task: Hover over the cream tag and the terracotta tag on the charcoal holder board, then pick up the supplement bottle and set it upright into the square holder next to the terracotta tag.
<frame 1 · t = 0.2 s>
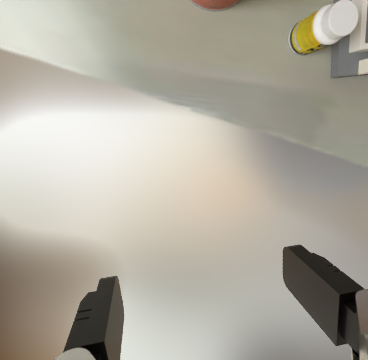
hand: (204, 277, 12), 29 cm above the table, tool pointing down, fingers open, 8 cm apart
supplement bottle: (301, 39, 39), on the table
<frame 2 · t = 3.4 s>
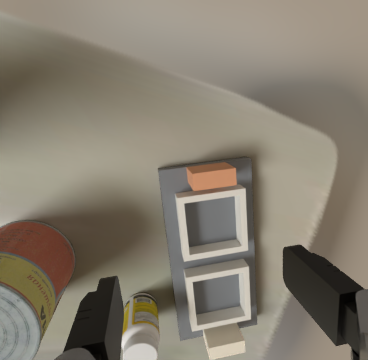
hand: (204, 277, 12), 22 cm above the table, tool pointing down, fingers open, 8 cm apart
supplement bottle: (141, 305, 37), on the table
holder board: (210, 250, 37), on the table
canned food: (30, 259, 33), on the table
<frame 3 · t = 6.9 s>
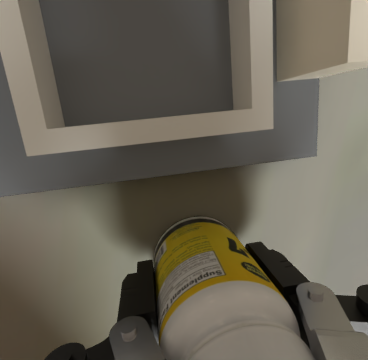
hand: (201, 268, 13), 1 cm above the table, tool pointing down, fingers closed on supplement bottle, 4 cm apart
supplement bottle: (195, 252, 14), on the table, touching gripper
holder board: (7, 44, 11), on the table
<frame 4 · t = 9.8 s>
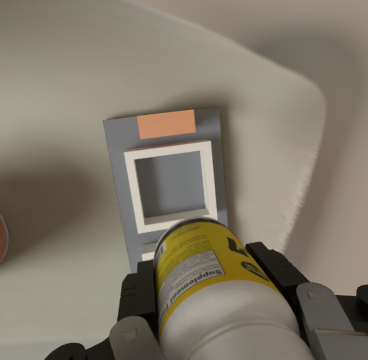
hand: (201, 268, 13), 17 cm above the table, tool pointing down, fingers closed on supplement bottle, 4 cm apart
supplement bottle: (195, 251, 14), point 16 cm above the table, touching gripper
holder board: (175, 224, 31), on the table
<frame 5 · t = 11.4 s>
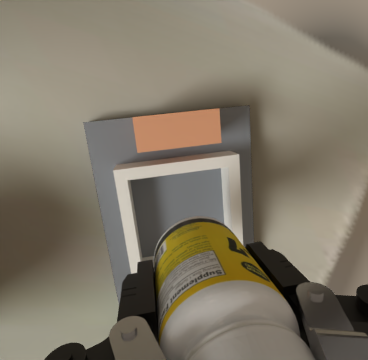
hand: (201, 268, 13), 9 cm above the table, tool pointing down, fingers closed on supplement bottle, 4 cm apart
supplement bottle: (195, 252, 14), point 8 cm above the table, touching gripper
holder board: (184, 261, 23), on the table
when the fingers open (4 cm above the table, at t = 12.8 s): supplement bottle drops 1 cm, resting on holder board.
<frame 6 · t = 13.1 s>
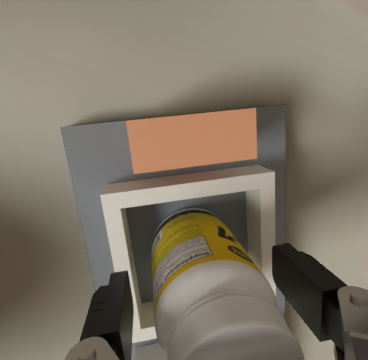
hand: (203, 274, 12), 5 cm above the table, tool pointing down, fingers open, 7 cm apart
supplement bottle: (190, 241, 15), point 1 cm above the table, touching holder board
holder board: (194, 303, 18), on the table
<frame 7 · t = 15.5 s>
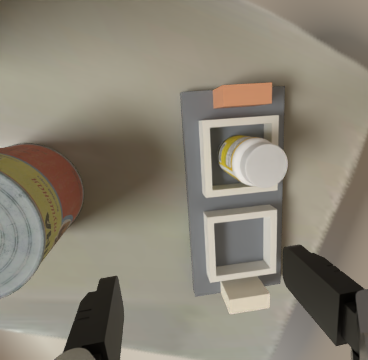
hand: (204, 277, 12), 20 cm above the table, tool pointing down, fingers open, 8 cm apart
supplement bottle: (234, 154, 31), point 1 cm above the table, touching holder board
holder board: (232, 195, 33), on the table
canned food: (34, 191, 30), on the table
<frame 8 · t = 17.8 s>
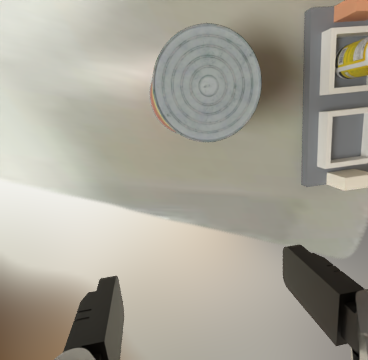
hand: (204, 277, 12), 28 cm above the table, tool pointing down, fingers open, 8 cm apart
supplement bottle: (345, 62, 38), point 1 cm above the table, touching holder board
holder board: (337, 101, 41), on the table
canned food: (188, 95, 37), on the table
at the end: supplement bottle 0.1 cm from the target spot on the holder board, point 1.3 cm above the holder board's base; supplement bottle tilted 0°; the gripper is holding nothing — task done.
